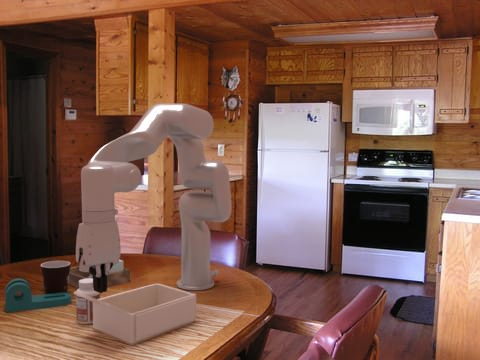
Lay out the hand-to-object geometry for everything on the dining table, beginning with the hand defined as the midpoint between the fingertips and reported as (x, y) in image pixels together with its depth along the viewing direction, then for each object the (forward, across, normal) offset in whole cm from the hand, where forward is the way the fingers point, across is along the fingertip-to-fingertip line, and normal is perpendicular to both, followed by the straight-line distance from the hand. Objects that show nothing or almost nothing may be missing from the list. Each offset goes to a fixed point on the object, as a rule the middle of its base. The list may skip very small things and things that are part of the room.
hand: (100, 291), depth 128 cm
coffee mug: (+13, -13, -40) cm, 44 cm away
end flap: (+5, -3, 0) cm, 5 cm away
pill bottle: (+13, -6, -14) cm, 20 cm away
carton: (+13, -14, 0) cm, 19 cm away
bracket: (+13, -3, -35) cm, 37 cm away
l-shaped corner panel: (+14, -29, -42) cm, 53 cm away
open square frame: (+13, -29, -44) cm, 54 cm away
